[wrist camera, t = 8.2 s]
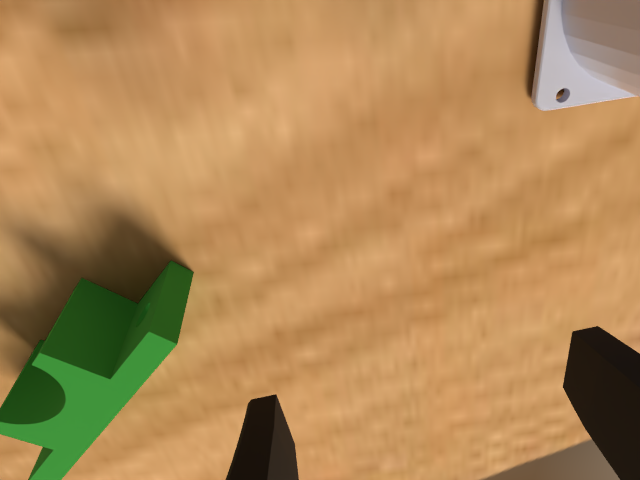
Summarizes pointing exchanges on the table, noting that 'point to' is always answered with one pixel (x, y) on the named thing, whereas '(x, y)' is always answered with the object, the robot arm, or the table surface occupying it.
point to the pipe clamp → (92, 367)
